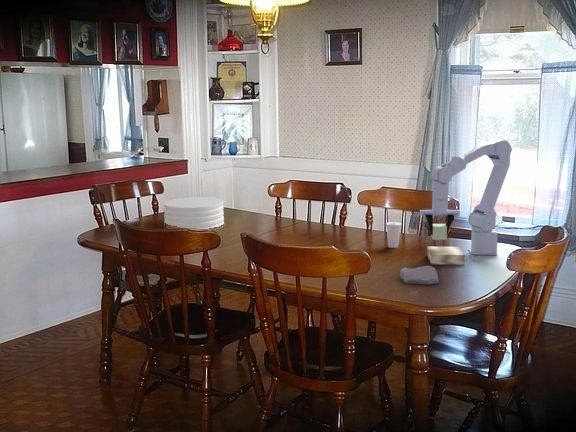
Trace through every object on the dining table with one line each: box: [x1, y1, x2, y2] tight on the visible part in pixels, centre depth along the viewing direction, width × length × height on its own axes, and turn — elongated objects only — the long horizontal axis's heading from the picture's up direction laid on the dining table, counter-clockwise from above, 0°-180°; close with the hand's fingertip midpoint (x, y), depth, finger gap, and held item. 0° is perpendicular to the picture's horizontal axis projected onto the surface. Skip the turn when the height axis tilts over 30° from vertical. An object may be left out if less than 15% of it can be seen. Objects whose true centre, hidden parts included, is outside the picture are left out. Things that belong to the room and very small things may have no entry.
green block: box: [430, 223, 448, 241], centre depth 245 cm, size 5×5×5 cm
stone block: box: [399, 265, 439, 285], centre depth 219 cm, size 12×5×10 cm
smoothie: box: [385, 212, 402, 249], centre depth 262 cm, size 6×6×14 cm
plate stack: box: [163, 196, 225, 229], centre depth 308 cm, size 28×28×12 cm
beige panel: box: [426, 245, 466, 266], centre depth 243 cm, size 12×12×4 cm
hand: (439, 234), depth 245 cm, fingers closed on green block, 5 cm apart
